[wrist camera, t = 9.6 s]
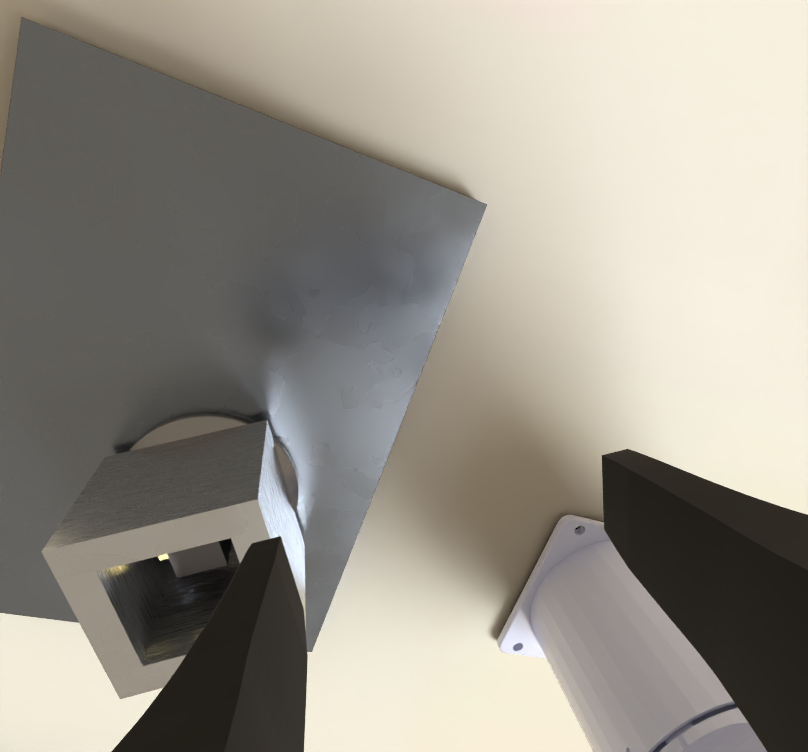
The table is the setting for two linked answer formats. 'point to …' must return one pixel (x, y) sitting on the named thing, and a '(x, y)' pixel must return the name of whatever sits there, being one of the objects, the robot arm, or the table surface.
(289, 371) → the plate
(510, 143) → the table surface
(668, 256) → the table surface
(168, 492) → the collar
